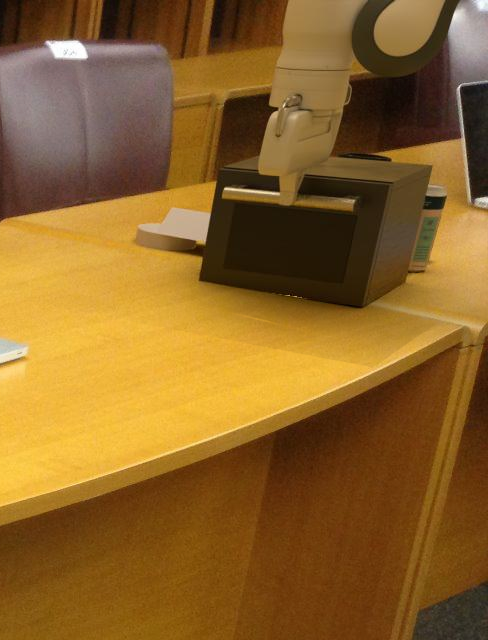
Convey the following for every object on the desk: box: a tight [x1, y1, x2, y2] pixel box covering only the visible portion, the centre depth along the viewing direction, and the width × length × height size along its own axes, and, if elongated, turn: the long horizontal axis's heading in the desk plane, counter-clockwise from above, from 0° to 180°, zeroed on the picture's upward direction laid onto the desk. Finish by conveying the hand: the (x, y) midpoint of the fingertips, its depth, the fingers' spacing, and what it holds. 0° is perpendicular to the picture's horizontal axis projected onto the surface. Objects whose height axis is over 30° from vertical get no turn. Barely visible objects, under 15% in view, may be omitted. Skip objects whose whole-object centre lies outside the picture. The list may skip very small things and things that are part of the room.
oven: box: [222, 154, 434, 307], centre depth 215 cm, size 20×22×16 cm
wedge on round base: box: [134, 206, 211, 251], centre depth 236 cm, size 9×7×13 cm
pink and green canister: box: [408, 183, 448, 273], centre depth 223 cm, size 5×5×12 cm
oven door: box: [198, 167, 393, 308], centre depth 206 cm, size 6×22×16 cm, turn 50°
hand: (286, 204), depth 201 cm, fingers closed, pressing on oven door
